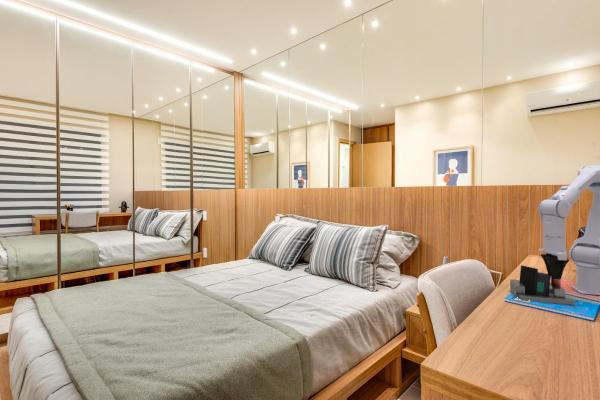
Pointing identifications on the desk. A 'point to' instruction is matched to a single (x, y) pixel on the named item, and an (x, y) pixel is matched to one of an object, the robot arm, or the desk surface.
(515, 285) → the vise body
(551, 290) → the jaw slide
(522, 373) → the desk surface
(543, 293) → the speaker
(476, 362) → the desk surface
